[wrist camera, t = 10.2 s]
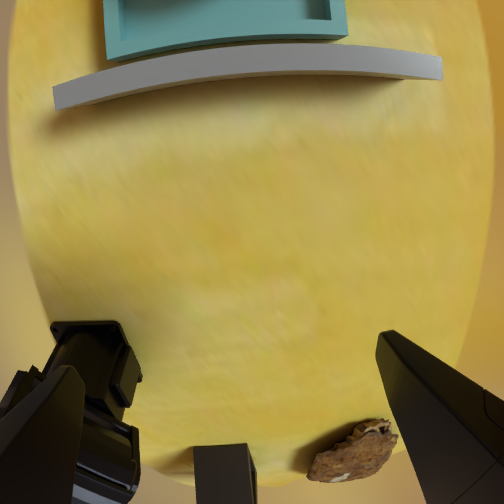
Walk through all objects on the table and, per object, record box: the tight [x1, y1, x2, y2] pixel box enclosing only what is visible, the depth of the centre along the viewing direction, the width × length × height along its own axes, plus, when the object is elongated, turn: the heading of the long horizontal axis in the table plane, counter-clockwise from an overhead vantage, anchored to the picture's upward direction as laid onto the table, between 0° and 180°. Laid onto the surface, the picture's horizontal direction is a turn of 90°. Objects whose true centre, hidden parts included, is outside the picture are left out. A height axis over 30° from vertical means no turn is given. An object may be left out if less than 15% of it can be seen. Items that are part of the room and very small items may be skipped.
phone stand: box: [193, 444, 257, 504], centre depth 28 cm, size 9×6×12 cm, turn 7°
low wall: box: [52, 43, 443, 111], centre depth 13 cm, size 18×1×4 cm, turn 95°
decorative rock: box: [306, 418, 399, 483], centre depth 32 cm, size 11×4×15 cm
